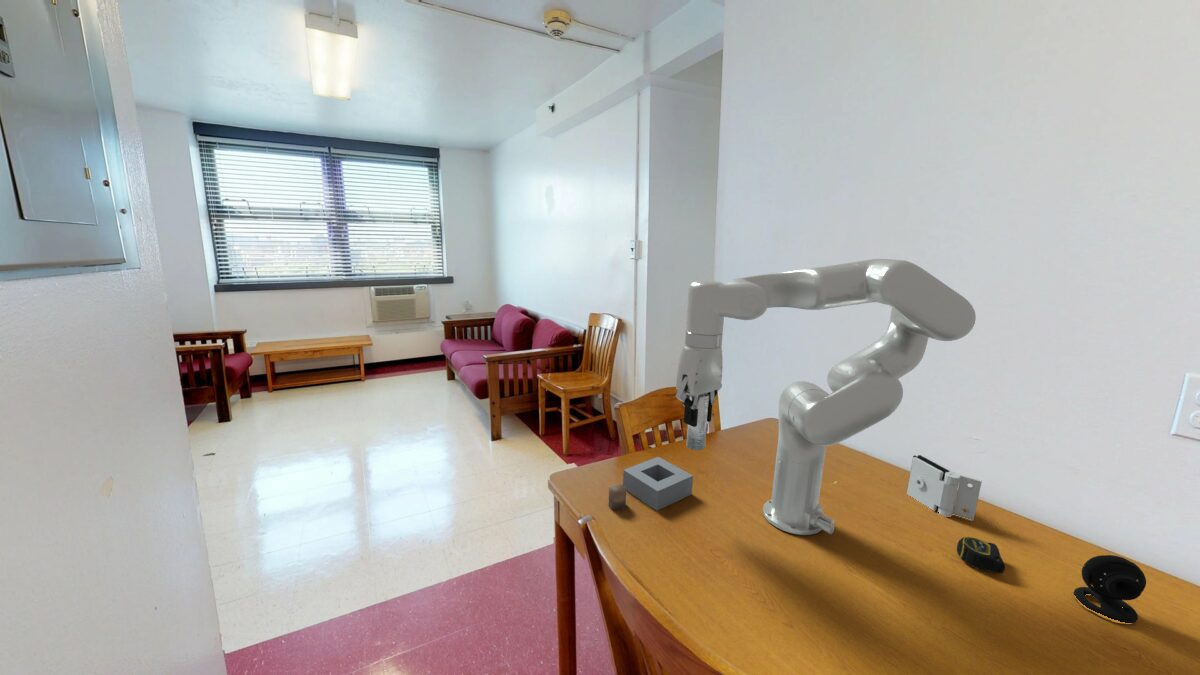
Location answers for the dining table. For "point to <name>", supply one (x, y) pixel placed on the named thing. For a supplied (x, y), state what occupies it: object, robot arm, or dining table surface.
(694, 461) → the dining table surface
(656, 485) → the hole block
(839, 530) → the dining table surface
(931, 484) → the hinge
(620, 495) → the walnut pin
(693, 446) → the steel pin
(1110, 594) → the webcam
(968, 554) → the tape measure
